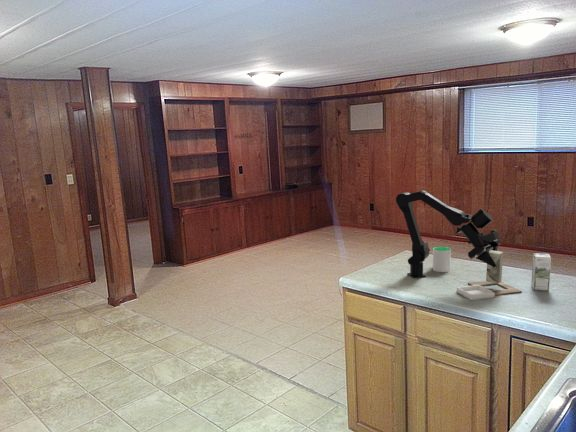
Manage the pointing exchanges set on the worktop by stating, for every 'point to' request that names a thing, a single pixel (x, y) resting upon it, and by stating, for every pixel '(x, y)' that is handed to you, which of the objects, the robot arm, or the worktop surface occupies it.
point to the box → (495, 272)
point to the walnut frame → (507, 290)
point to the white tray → (475, 292)
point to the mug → (441, 259)
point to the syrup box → (541, 271)
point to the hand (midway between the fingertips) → (498, 265)
